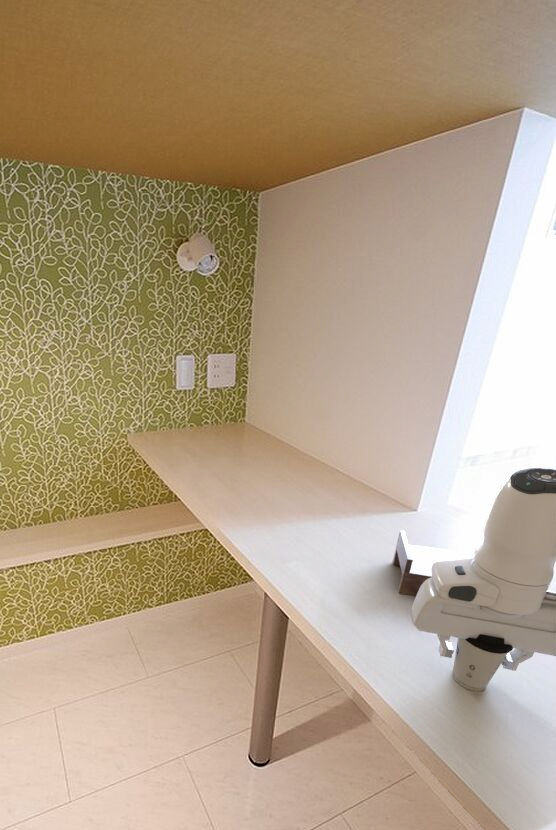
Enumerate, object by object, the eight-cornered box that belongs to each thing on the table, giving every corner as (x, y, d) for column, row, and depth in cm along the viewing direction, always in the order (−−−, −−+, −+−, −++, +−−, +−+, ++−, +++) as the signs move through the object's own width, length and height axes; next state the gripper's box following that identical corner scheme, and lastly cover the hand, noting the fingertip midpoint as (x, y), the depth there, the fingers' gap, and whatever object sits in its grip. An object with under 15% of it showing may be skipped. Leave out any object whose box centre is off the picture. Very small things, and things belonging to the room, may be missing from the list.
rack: (472, 574, 93) (483, 541, 89) (488, 608, 82) (501, 573, 79) (392, 561, 96) (400, 530, 93) (398, 593, 86) (407, 559, 83)
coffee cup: (506, 690, 65) (529, 638, 60) (471, 702, 63) (492, 650, 58) (466, 657, 71) (485, 608, 66) (433, 667, 69) (450, 617, 64)
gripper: (582, 584, 59) (546, 660, 65) (421, 560, 64) (401, 632, 70) (607, 613, 54) (565, 693, 60) (428, 584, 59) (406, 660, 65)
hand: (475, 660), depth 65 cm, fingers open, 7 cm apart
